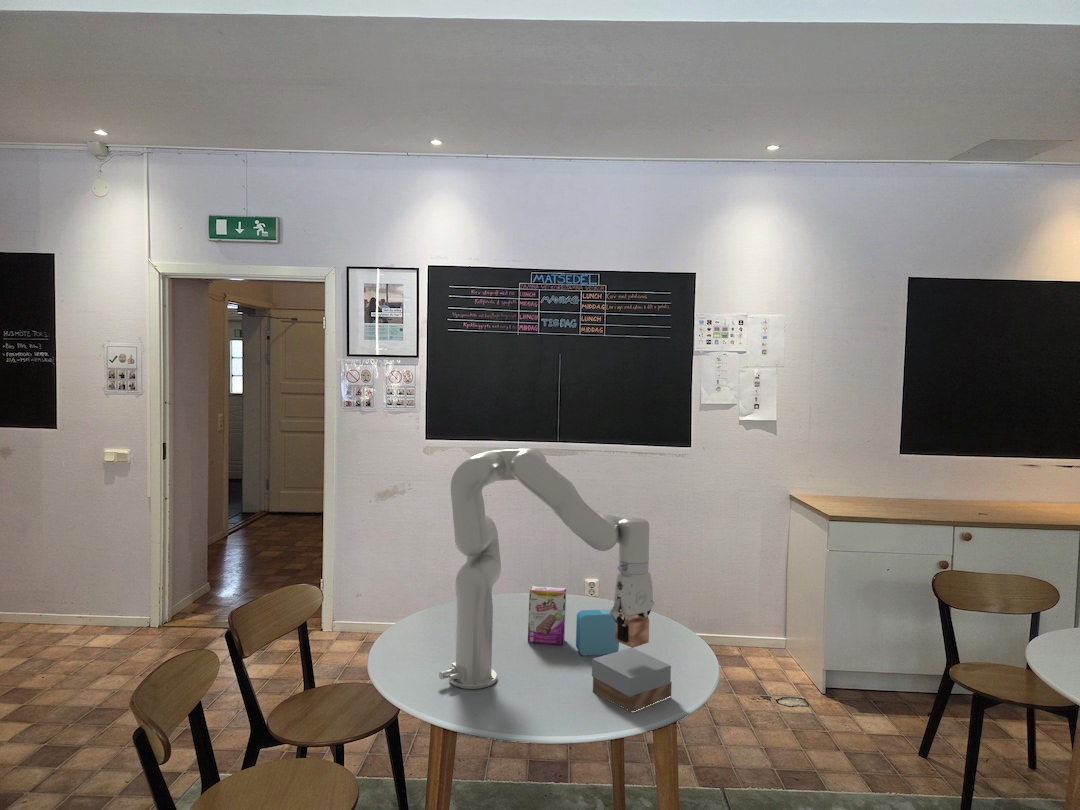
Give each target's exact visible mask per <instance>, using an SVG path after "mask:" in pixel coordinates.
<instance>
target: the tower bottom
mask: <svg viewBox="0 0 1080 810" xmlns="http://www.w3.org/2000/svg"><path fill="white" fill-rule="evenodd" d="M592 678H593V679H592V693H594V694H596V695H597V694H598V695H597V696H599V697H602V698H603V697H604V698H603V699H605V700H607V701H609V700H610V701H609V702H611V701H612V702H614V703H616V704H618V705H620V706H622V707H624V708H626V709H628V710H630V711H636V710H638V709H641V708H643V707H646V706H648V705H650V704H653V703H655V702H657V701H660V700H663V699H665V698H667V697H669V696H671V697H672V681H670V684H667V685H664V686H661V687H658V688H655V689H652V690H649V691H646V692H643V693H640V694H637V695H634V696H631V697H629V696H627V695H625V694H624V693H622V692H620V691H618V690H616V689H615V688H613V687H611V686H609V685H607V684H605V683H604V682H602V681H600V680H598V679H596V678H595V677H593V676H592ZM612 702H611V703H612ZM614 703H613V704H614ZM616 704H615V705H616ZM618 705H617V706H618ZM620 706H619V707H620ZM622 707H621V708H622ZM624 708H623V709H624ZM626 709H625V710H626Z"/></svg>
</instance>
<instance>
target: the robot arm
mask: <svg viewBox="0 0 1080 810" xmlns="http://www.w3.org/2000/svg"><path fill="white" fill-rule="evenodd" d="M500 481H503V482H504V481H517V482H519V483H520V484H521V485H522V486H523V487H525V488H526V489H527V490H528V491H530V493H531V494H533V495H534V496H535V497H537V498H538V499H539V500H541V502H543V503H544V504H545V505H546V506H547V507H549V508H550V509H551V510H552V511H553V513H554V514H555V515H556V516H557V517H558V519H560V520H561V521H562V523H564V525H565V526H566V527H567V528H568V529H569V530H570V531H572V533H573V534H575V535H576V536H577V537H578V538H580V539H581V540H582V541H583V542H584V543H586V544H587V545H588V547H589V546H590V548H592V549H593V550H596V551H599V552H606V551H609V550H611V549H613V548H614V547H615V546H616V544H618V566H617V570H618V572H617V575H616V580H615V586H614V599H613V606H612V608H611V609H612V610H611V611H610V615H611V617H612V618H613V619H614V620H615V622H616V624H618V631H617V638H618V640H621V641H623V642H628V626H627V622H628V619H629V616H634V615H640V616H642V617H645V618H648V619H649V615H650V613H651V610H652V609H653V606H655V602H654V599H653V598H654V595H653V582H652V581H653V580H652V576H651V571H649V560H650V523H649V521H648V520H647V519H645V518H642V517H621V516H616V515H610V514H601V515H600V514H598V513H597V512H596V511H595V510H594V509H593V508H591V507H590V505H588V504H587V503H586V502H585V500H584V499H583V498H582V497H581V495H580V494H579V491H578V490H577V487H575V485H574V484H573V482H571V481H570V480H569V479H567V477H565V476H564V475H563V474H561V473H560V472H559V471H558V470H556V469H555V468H554V466H552V465H550V464H549V463H548V462H547V458H546V456H545V454H544V453H543V452H541V451H540V450H538V449H537V448H517V449H501V450H488V451H487V450H486V451H483V452H480V453H477V454H475V455H472V456H471V457H469V458H468V459H466V460H464V461H463V462H462V463H460V465H458V466H457V468H456V469H455V471H454V473H453V474H452V478H451V481H450V497H451V508H452V509H451V510H452V521H453V532H454V542H455V546H456V549H457V550H458V551H459V553H460V554H462V555H463V556H466V562H465V563H464V564H463V565H462V566H461V567H460V568H459V570H458V572H457V574H456V576H455V582H454V583H455V584H454V585H455V587H454V589H455V598H456V599H455V600H456V631H455V633H456V634H455V635H456V637H455V662H452V663H451V666H450V667H449V669H445V670H441V671H439V673H438V677H439V679H440V680H445V679H449V682H450V683H451V684H452V685H453V686H455V687H457V688H461V689H466V690H479V689H480V690H481V689H485V688H488V687H490V686H493V685H494V684H495V683H496V682H497V680H498V673H497V672H496V671H495V670H494V669H493V668H492V663H493V662H492V659H493V627H494V626H493V624H494V622H493V621H494V620H493V619H494V610H493V609H494V608H493V606H494V605H493V604H494V603H493V593H492V592H493V587H494V585H495V584H496V583H497V582H498V580H499V578H500V576H501V573H502V563H501V552H500V545H499V535H498V529H497V525H496V524H495V521H494V520H493V519H492V517H490V516H488V515H486V511H485V510H486V507H485V506H486V505H485V500H484V496H483V489H484V488H485V487H486V486H489V485H491V484H493V483H495V482H500ZM622 615H624V619H622Z"/></svg>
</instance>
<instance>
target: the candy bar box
mask: <svg viewBox="0 0 1080 810" xmlns="http://www.w3.org/2000/svg"><path fill="white" fill-rule="evenodd" d="M566 606H567V588H565V587H554V586H553V587H550V586H540V585H539V586H538V585H531V587H530V590H529V600H528V623H527V625H528V629H527V643H530V644H540V645H541V644H543V645H557V646H564V642H565V637H566V610H567V609H566V608H567V607H566Z"/></svg>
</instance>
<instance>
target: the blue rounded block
mask: <svg viewBox="0 0 1080 810" xmlns="http://www.w3.org/2000/svg"><path fill="white" fill-rule="evenodd" d="M611 610H612V608H611V609H610V608H609V609H605V608H604V609H588V610H587V609H586V610H585V609H582V610H580V611H578V612H577V614H576V629H575V630H576V631H575V632H576V633H575V634H576V636H575V647H576V649H577V651H578V652H579V654H580V655H581V656H584V657H585V656H587V655H589V656H604V655H606V654H611V653H614V652H618V651H620V650H619V648H620V642H617V641H615V623H616V622H615V620H614V619H613V618H612V617H611V615H610V611H611ZM587 657H588V656H587Z"/></svg>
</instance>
